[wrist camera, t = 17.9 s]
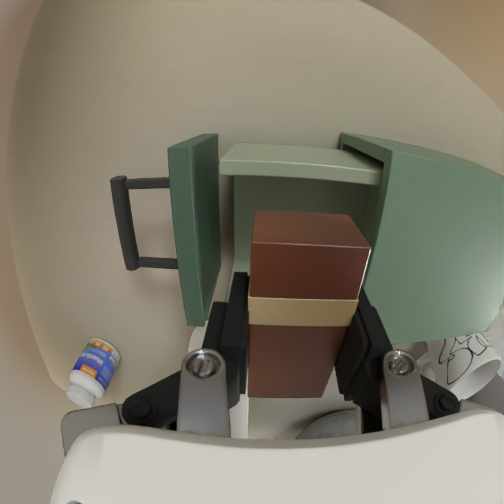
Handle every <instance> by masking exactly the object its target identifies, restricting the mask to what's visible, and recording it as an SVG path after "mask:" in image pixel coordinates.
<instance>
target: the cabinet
mask: <svg viewBox="0 0 504 504" xmlns="http://www.w3.org/2000/svg"><path fill="white" fill-rule="evenodd" d="M340 150H346V151H353V152H360V153H366V154H368V155H370V156H372V157H374V158H376V159H378V160H380V161H381V162H383V163H384V169H383V176H382V183H381V189H380V195H379V200H378V206H377V211H376V216H375V221H374V226H373V231H372V235H371V240H370V244H369V245H370V247H371V250H370V255H369V259H368V262H367V266H366V270H365V274H364V278H363V281H362V286H363V288H364V290H365V293H366V295H367V297H368V299H369V302H370V304H371V306H374V307H375V308H376V309H377V312H378V314H379V316H380V319H381V321H382V323H383V326H384V328H385V331H386V333H387V335H388V338H389V340H390V343H391V345H392V344H404V343H414V342H423V341H431V340H439V339H446V338H452V337H459V336H465V335H471V334H476V333H482V332H487V330H488V329H489V327H490V325H491V324H492V322H493V320H494V318H495V317H496V315H497V313H498V311H499V309H500V308H501V306H502V304H503V302H504V176H503V175H501V174H499V173H496V172H494V171H492V170H490V169H488V168H485V167H483V166H481V165H478V164H476V163H474V162H471V161H468V160H465V159H461V158H458V157H455V156H452V155H448V154H445V153H441V152H437V151H434V150H430V149H426V148H422V147H418V146H414V145H409V144H405V143H400V142H395V141H391V140H385V139H380V138H375V137H369V136H363V135H357V134H350V133H343V132H342V133H341V140H340Z"/></svg>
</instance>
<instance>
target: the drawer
mask: <svg viewBox="0 0 504 504" xmlns="http://www.w3.org/2000/svg"><path fill="white" fill-rule="evenodd" d="M168 165H169V177H162V178H138V179H128V180H127V177H126V176H117V177H113V178H111V179H110V183H111V191H112V198H113V204H114V210H115V216H116V222H117V228H118V233H119V238H120V243H121V248H122V252H123V257H124V261H125V265H126V269H127V270H130V271H133V270H136V269H138V268H139V267H149V268H164V269H179V275H180V282H181V289H182V296H183V302H184V308H185V314H186V320H187V325H189V326H200V327H204V326H205V323H206V319H207V315H208V311H209V308H210V304H211V300H212V296H213V293H214V289H215V285H216V282H217V278H218V274H219V271H220V267H221V253H220V223H219V176H218V134H202V135H199V136H196V137H194V138H191V139H188V140H186V141H183V142H181V143H178V144H176V145H173V146H171V147H169V148H168ZM383 169H384V163H383V162H381V161H380V160H378V159H376V158H374V157H372V156H370V155H368V154H366V153H360V152H353V151H346V150H338V149H329V148H319V147H308V146H295V145H280V144H257V143H235V144H234V146H233V147H232V148H231V149H230V150H229V151H228V152H227V153H226V154H225V155H224V156H223V157H222V158H221V159H220V160H219V174H220V175H234V262H233V267H232V271H231V276H230V281H229V286H228V290H227V295H226V300H225V302H228V301H229V295H230V290H231V285H232V280H233V275H234V272H248V276H250V252H251V236H252V228H253V220H254V213H255V210H278V211H296V212H313V213H327V214H341V215H349V216H350V217H351V219H352V220H353V222H354V223H355V225H356V226H357V228H358V229H359V230H360V232H361V233H362V235H363V236H364V238H365V239H366V241H367V242H368V244H370V240H371V235H372V231H373V226H374V221H375V216H376V211H377V206H378V200H379V195H380V189H381V183H382V176H383ZM152 188H170V194H171V206H172V217H173V227H174V236H175V244H176V253H177V259H174V258H156V257H139V254H138V249H137V243H136V238H135V232H134V226H133V220H132V213H131V206H130V199H129V191H128V189H152Z"/></svg>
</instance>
